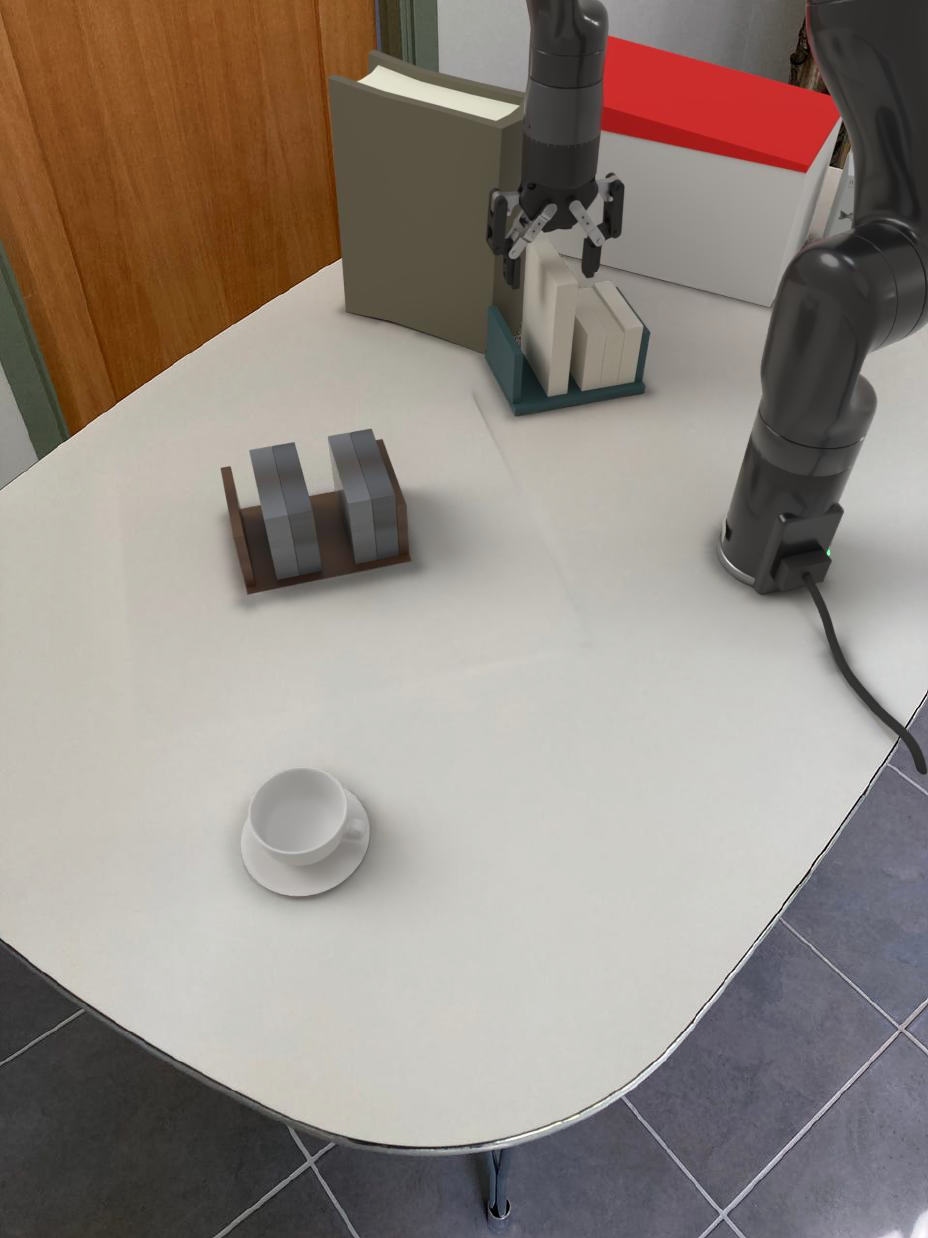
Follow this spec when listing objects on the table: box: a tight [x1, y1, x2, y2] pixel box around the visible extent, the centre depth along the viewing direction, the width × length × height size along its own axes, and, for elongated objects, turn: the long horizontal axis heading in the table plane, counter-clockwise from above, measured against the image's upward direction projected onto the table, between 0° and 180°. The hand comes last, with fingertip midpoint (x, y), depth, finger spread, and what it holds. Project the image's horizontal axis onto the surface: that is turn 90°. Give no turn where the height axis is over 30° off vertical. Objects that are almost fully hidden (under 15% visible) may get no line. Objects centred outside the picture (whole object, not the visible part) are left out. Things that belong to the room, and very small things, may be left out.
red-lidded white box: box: [530, 34, 843, 308], centre depth 127 cm, size 21×35×21 cm, turn 63°
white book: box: [520, 237, 579, 397], centre depth 108 cm, size 10×2×14 cm, turn 16°
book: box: [327, 49, 531, 355], centre depth 112 cm, size 22×9×28 cm, turn 62°
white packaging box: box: [821, 151, 854, 240], centre depth 127 cm, size 7×7×13 cm
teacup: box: [240, 765, 371, 897], centre depth 73 cm, size 10×10×5 cm
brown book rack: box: [220, 428, 413, 595], centre depth 92 cm, size 12×16×9 cm
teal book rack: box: [484, 280, 651, 417], centre depth 111 cm, size 12×16×8 cm
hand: (550, 280), depth 104 cm, fingers open, 8 cm apart
